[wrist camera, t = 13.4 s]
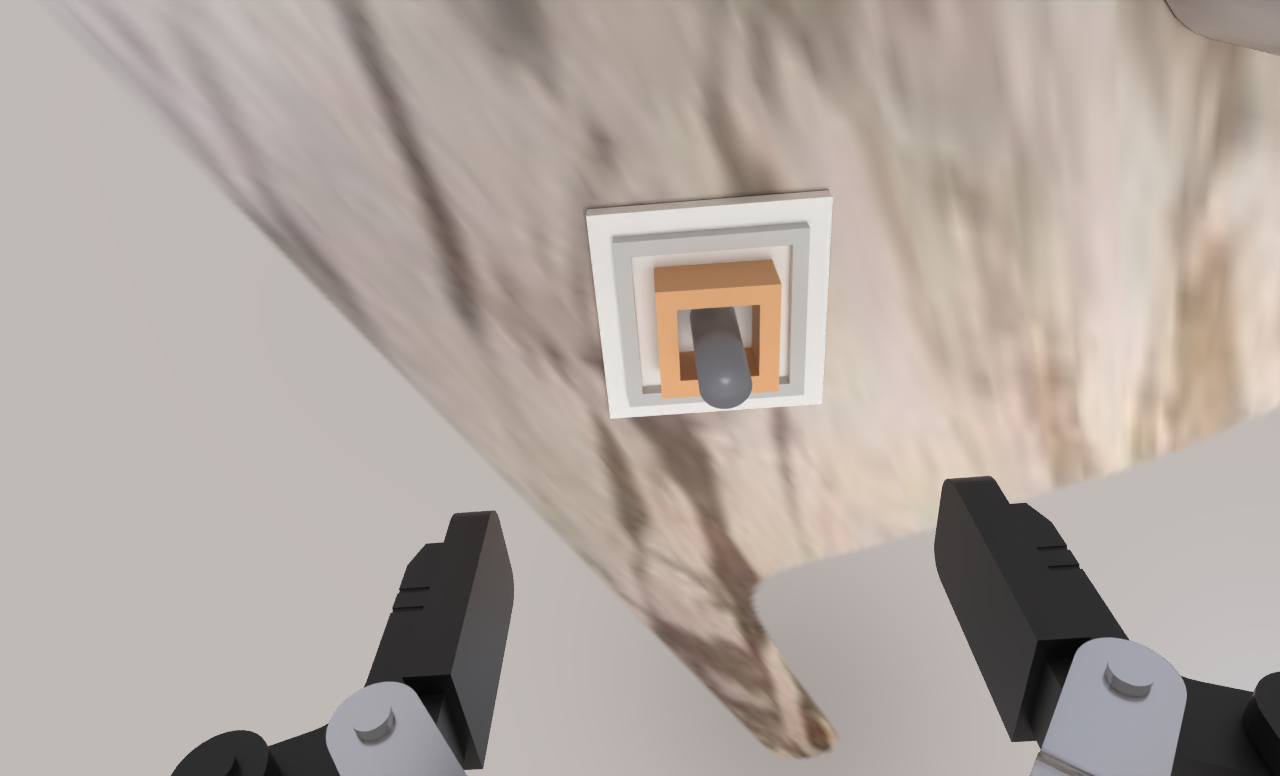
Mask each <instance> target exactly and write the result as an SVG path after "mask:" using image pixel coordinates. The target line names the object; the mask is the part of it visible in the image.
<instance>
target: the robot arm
mask: <svg viewBox="0 0 1280 776" xmlns="http://www.w3.org/2000/svg"><path fill="white" fill-rule="evenodd" d="M1166 1H1167V3H1168V5H1169V6H1170V8H1171V10H1172V11H1173V13H1174V14H1175V16H1176V17H1177V19H1178V20H1180V21H1181V22H1182V23H1183V24H1184V25H1185V26H1187V27H1188V28H1189V29H1190V30H1191V31H1193V32H1195V33H1198V34H1200V35H1202V36H1205V37H1207V38H1209V39H1213V40H1218V41H1222V42H1226V43H1230V44H1234V45H1239V46H1243V47H1247V48H1251V49H1255V50H1259V51H1264V52H1267V53H1270V54H1274V55H1279V56H1280V0H1166ZM934 551H935V561H936V567H937V571H938V574H939V577H940V580H941V582H942V585H943V587H944V589H945V591H946V594H947V596H948V598H949V600H950V603H951V605H952V607H953V610H954V612H955V614H956V616H957V618H958V621H959V623H960V625H961V628H962V630H963V632H964V635H965V637H966V639H967V641H968V644H969V646H970V648H971V651H972V653H973V655H974V657H975V660H976V662H977V664H978V666H979V669H980V671H981V673H982V676H983V678H984V680H985V682H986V684H987V687H988V689H989V691H990V694H991V696H992V698H993V701H994V703H995V705H996V707H997V710H998V712H999V714H1000V716H1001V719H1002V721H1003V723H1004V726H1005V728H1006V730H1007V732H1008V735H1009V737H1010V739H1011V742H1021V741H1037V743H1038V745H1039V747H1040V749H1041V751H1040V752H1039V753H1038V755H1037V758H1036V760H1035V763H1034V766H1033V768H1032V771H1031V774H1030V776H1280V672H1276V673H1272V674H1269V675H1267V676H1265V677H1264V678H1263V679H1261V680H1260V681H1259V683H1258V685H1257V687H1256V688H1255V690H1254V692H1249V691H1245V690H1240V689H1234V688H1229V687H1225V686H1220V685H1214V684H1210V683H1205V682H1200V681H1196V680H1192V679H1188V678H1185V677H1182V676H1180V674H1179V673H1178V671H1177V670H1176V669H1175V668H1174V667H1173V666H1172V665H1171V664H1170V663H1169V662H1168V661H1167V660H1166V659H1165V658H1163V657H1162V656H1161V655H1159V654H1158V653H1156V652H1155V651H1153V650H1151V649H1149V648H1147V647H1145V646H1143V645H1141V644H1138V643H1135V642H1132V641H1130V640H1129V639H1128V637H1127V636H1126V634H1125V633H1124V631H1123V630H1122V628H1121V627H1120V625H1119V624H1118V622H1117V621H1116V619H1115V618H1114V616H1113V615H1112V613H1111V612H1110V610H1109V609H1108V607H1107V606H1106V604H1105V603H1104V601H1103V600H1102V598H1101V596H1100V595H1099V594H1098V592H1097V590H1096V589H1095V587H1094V586H1093V584H1092V583H1091V581H1090V580H1089V578H1088V577H1087V575H1086V574H1085V572H1084V571H1083V569H1080V568H1079V563H1078V562H1077V560H1076V559H1075V557H1074V556H1073V554H1072V552H1071V551H1070V550H1067V545H1066V543H1065V542H1064V540H1063V539H1062V537H1061V536H1060V534H1059V533H1058V531H1057V530H1056V528H1055V527H1054V525H1053V524H1052V522H1051V521H1049V520H1048V519H1047V518H1045V517H1044V516H1043V515H1041V514H1040V513H1039V512H1037V511H1036V510H1035V509H1033V508H1032V507H1031V506H1029V505H1028V504H1027V503H1018V504H1009V502H1008V500H1007V499H1006V497H1005V496H1004V494H1003V492H1002V491H1001V489H1000V487H999V486H998V484H997V482H996V481H995V480H994V479H993V478H992V477H991V476H982V477H968V478H954V479H946V480H945V481H944V483H943V486H942V492H941V499H940V506H939V514H938V521H937V528H936V535H935V543H934ZM399 590H400V592H399V593H398V594H397V597H396V600H395V602H394V605H393V613H391V614H390V617H389V620H388V622H387V626H386V628H385V631H384V634H383V636H382V639H381V642H380V645H379V648H378V651H377V653H376V656H375V659H374V662H373V665H372V668H371V670H370V673H369V676H368V679H367V682H366V684H365V686H364V688H363V689H361V690H359V691H357V692H356V693H354V694H353V695H351V696H350V697H349V698H347V699H346V700H345V701H344V702H343V703H342V704H341V705H340V706H339V707H338V708H337V710H336V711H335V713H334V714H333V716H332V718H331V720H330V721H329V724H327V725H325V726H323V727H321V728H319V729H316V730H314V731H312V732H308V733H305V734H303V735H300V736H297V737H294V738H291V739H288V740H285V741H283V742H280V743H277V744H274V745H271V746H267V744H266V742H265V741H264V740H263V738H262V737H261V736H259V735H258V734H256V733H254V732H251V731H245V730H241V731H240V730H238V731H231V732H226V733H223V734H220V735H217V736H215V737H213V738H211V739H209V740H208V741H206V742H204V743H202V744H201V745H199V746H198V747H197V748H195V749H194V750H193V751H192V752H190V753H189V754H188V755H187V756H186V757H185V758H184V759H183V760H182V761H181V762H180V763H179V765H178V766H177V767H176V769H175V770H174V772H173V773H172V775H171V776H467V775H466V773H465V772H464V770H471V769H483V766H484V760H485V755H486V750H487V744H488V739H489V733H490V727H491V722H492V717H493V711H494V706H495V700H496V695H497V689H498V684H499V679H500V673H501V667H502V662H503V657H504V651H505V645H506V640H507V635H508V629H509V624H510V618H511V613H512V607H513V599H514V583H513V574H512V568H511V564H510V561H509V557H508V552H507V548H506V544H505V540H504V537H503V532H502V529H501V525H500V521H499V517H498V515H497V513H496V511H481V512H467V513H455V514H454V515H453V516H452V518H451V521H450V524H449V527H448V530H447V533H446V537H445V540H444V543H431V544H426V545H425V546H424V547H423V548H422V549H421V550H420V552H419V553H418V554H417V555H416V556H415V557H414V558H413V560H412V561H411V562H410V563H409V564H408V565H407V568H406V571H405V574H404V577H403V580H402V583H401V586H400V588H399Z"/></svg>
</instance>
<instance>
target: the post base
mask: <svg viewBox="0 0 1280 776" xmlns="http://www.w3.org/2000/svg"><path fill="white" fill-rule="evenodd" d="M832 203H833V196H832V195H831V193H830V192H829V190H823V191H810V192H798V193H785V194H772V195H760V196H747V197H735V198H722V199H710V200H697V201H685V202H672V203H659V204H647V205H634V206H622V207H609V208H597V209H587V213H586V220H587V228H588V237H589V245H590V253H591V261H592V270H593V278H594V286H595V295H596V303H597V311H598V320H599V328H600V336H601V345H602V353H603V361H604V370H605V378H606V386H607V394H608V403H609V411H610V419H612V418H626V417H641V416H655V415H669V414H684V413H698V412H712V411H727V410H741V409H755V408H770V407H784V406H798V405H813V404H822V395H823V376H824V357H825V337H826V318H827V299H828V280H829V260H830V241H831V222H832ZM771 259H772V261H773V263H774V266H775V268H776V271H777V274H778V276H779V279H780V281H781V284H782V287H781V324H780V361H779V391H776V392H760V393H751V391H752V379H751V375H750V371H749V367H748V363H747V359H746V355H745V351H744V348H748V347H752V305H748V306H733V307H718V308H703V309H688V310H677V322H678V342H679V352H687V351H694V354H695V362H696V369H697V377H698V384H699V392H700V395H701V396H697V397H681V398H665V399H662V392H661V377H660V362H659V347H658V332H657V317H656V302H655V286H654V268H655V267H670V266H684V265H699V264H713V263H728V262H742V261H757V260H771Z"/></svg>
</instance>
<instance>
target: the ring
mask: <svg viewBox="0 0 1280 776" xmlns="http://www.w3.org/2000/svg"><path fill="white" fill-rule="evenodd" d="M654 286H655V302H656V317H657V332H658V347H659V362H660V377H661V392H662V399H665V398H681V397H697V396H701V395H700V392H699V384H698V377H697V369H696V362H695V354H694V351H687V352H679V342H678V322H677V310H688V309H703V308H718V307H733V306H748V305H752V347H748V348H744V351H745V355H746V359H747V363H748V367H749V371H750V375H751V379H752V391H751V393H760V392H776V391H779V361H780V324H781V287H782V284H781V281H780V279H779V276H778V274H777V271H776V268H775V266H774V263H773V261H772V259H771V260H757V261H742V262H728V263H713V264H699V265H684V266H670V267H655V268H654Z"/></svg>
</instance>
